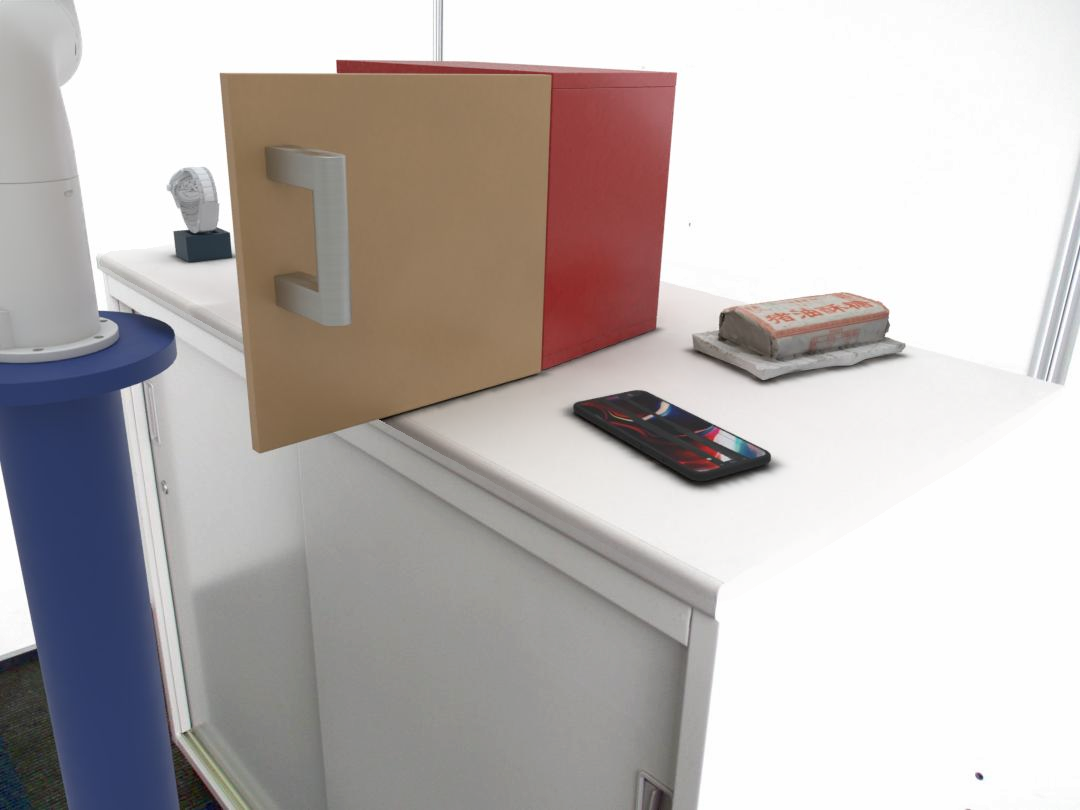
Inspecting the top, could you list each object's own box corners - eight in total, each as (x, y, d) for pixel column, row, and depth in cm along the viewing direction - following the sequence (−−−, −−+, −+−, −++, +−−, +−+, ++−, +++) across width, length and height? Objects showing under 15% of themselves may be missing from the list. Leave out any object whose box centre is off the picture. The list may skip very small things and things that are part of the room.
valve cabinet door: (596, 393, 75) (615, 79, 66) (310, 487, 58) (284, 79, 49) (533, 369, 80) (542, 74, 71) (252, 449, 63) (219, 72, 54)
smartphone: (641, 387, 75) (777, 454, 63) (640, 395, 75) (776, 463, 63) (567, 402, 71) (697, 476, 60) (567, 411, 72) (696, 486, 60)
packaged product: (832, 282, 94) (913, 306, 86) (825, 328, 96) (904, 356, 88) (693, 300, 85) (769, 329, 77) (688, 350, 87) (762, 383, 79)
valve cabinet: (542, 370, 80) (553, 72, 72) (346, 310, 96) (335, 59, 87) (656, 328, 93) (677, 72, 85) (467, 282, 109) (468, 61, 100)
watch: (213, 248, 121) (204, 162, 117) (237, 259, 116) (229, 169, 112) (169, 253, 118) (159, 164, 114) (193, 265, 112) (183, 172, 108)
